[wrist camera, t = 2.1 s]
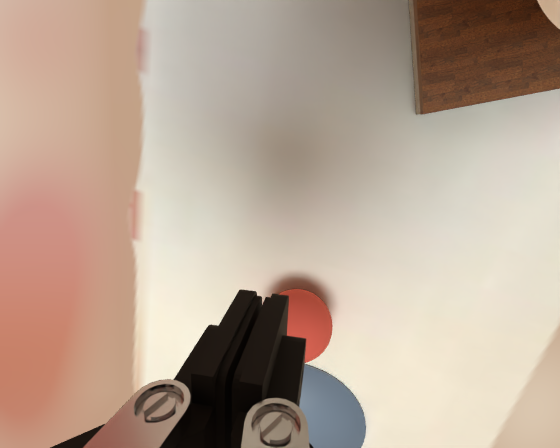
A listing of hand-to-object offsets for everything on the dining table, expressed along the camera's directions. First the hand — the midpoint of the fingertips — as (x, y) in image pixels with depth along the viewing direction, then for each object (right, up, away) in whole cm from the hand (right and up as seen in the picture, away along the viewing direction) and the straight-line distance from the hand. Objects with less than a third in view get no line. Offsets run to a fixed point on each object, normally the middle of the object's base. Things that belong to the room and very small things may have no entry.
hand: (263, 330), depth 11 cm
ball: (+2, -4, +14) cm, 15 cm away
